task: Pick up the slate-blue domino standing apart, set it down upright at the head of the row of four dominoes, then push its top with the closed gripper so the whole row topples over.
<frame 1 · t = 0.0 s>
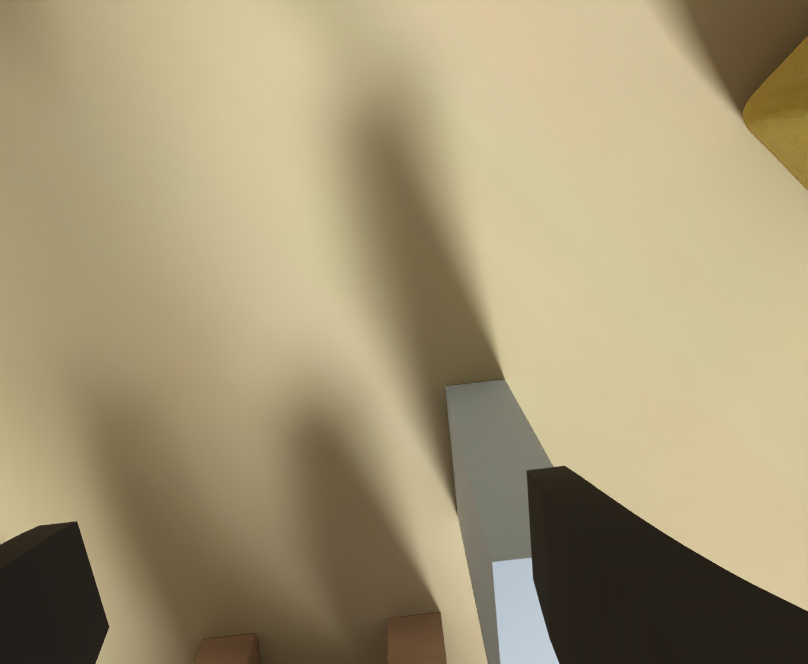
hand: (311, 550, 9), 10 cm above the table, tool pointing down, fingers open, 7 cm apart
blue domino: (480, 450, 20), on the table
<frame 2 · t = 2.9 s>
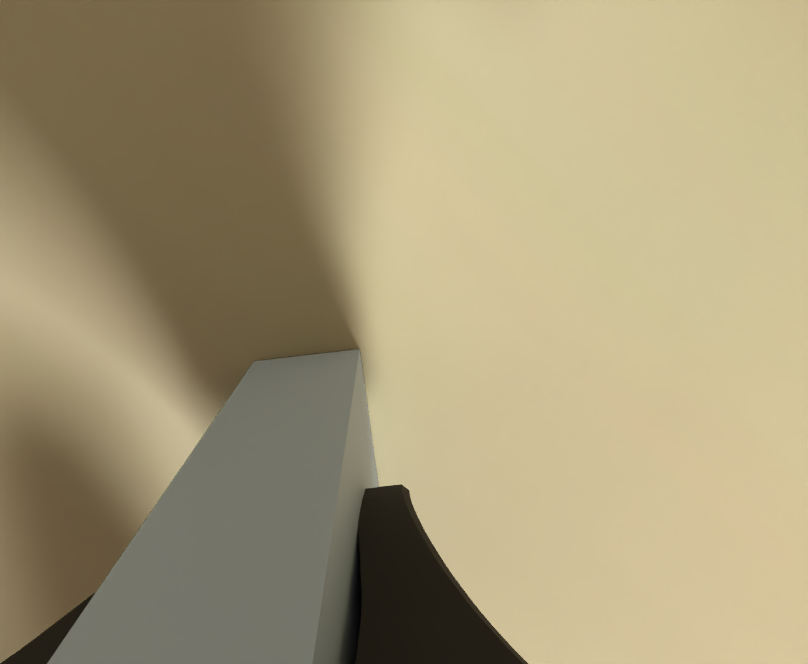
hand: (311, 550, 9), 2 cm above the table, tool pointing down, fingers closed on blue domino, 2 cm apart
blue domino: (326, 473, 12), on the table, touching gripper
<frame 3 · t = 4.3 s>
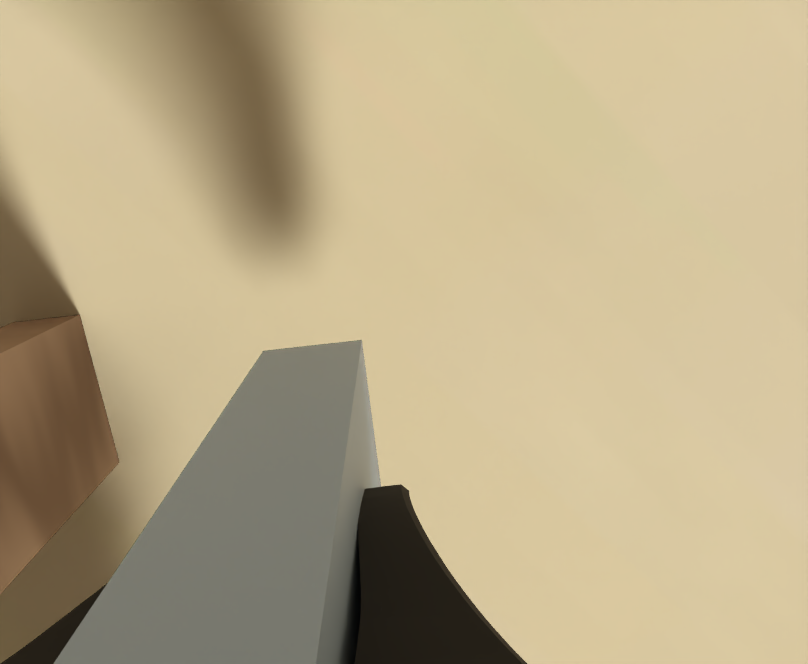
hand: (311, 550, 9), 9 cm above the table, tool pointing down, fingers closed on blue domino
blue domino: (329, 456, 12), point 6 cm above the table, touching gripper
domino 2: (68, 394, 18), on the table
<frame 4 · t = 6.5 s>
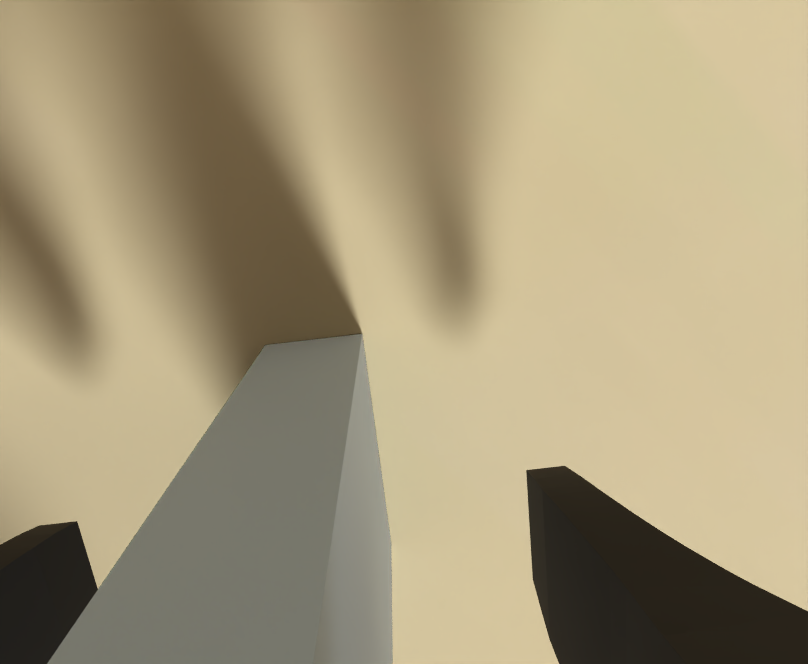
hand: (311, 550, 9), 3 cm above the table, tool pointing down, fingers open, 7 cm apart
blue domino: (331, 449, 13), on the table
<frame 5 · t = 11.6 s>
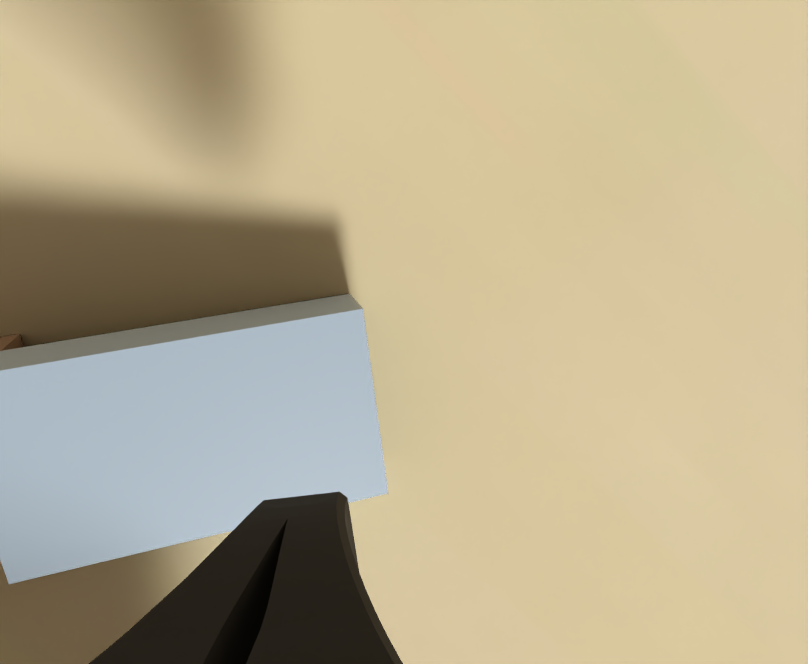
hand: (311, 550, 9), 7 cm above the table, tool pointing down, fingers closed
blue domino: (368, 391, 16), point 1 cm above the table, tilted 77°, touching domino 2
domino 2: (36, 431, 16), point 1 cm above the table, tilted 71°, touching blue domino, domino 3
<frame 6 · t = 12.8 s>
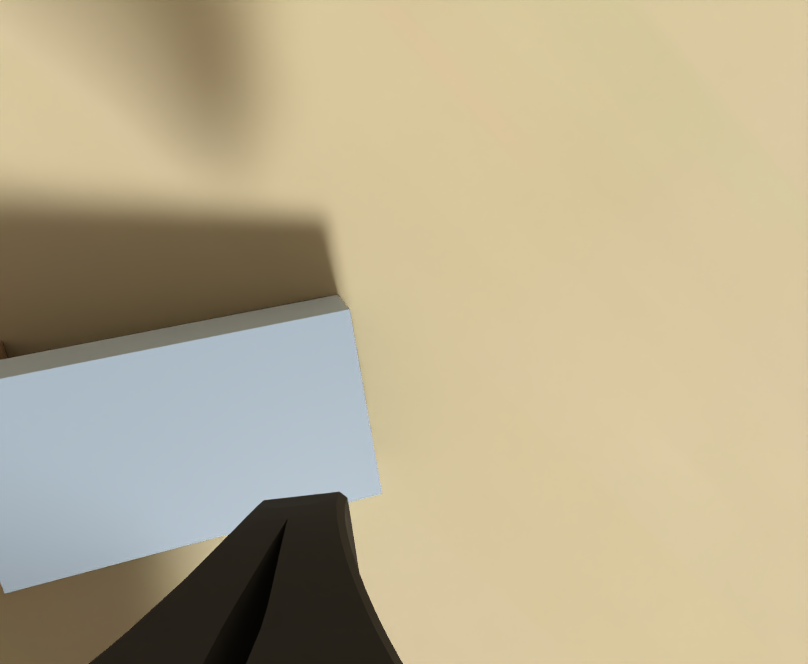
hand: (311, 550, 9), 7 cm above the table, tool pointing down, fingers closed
blue domino: (359, 392, 16), point 1 cm above the table, tilted 77°, touching domino 2
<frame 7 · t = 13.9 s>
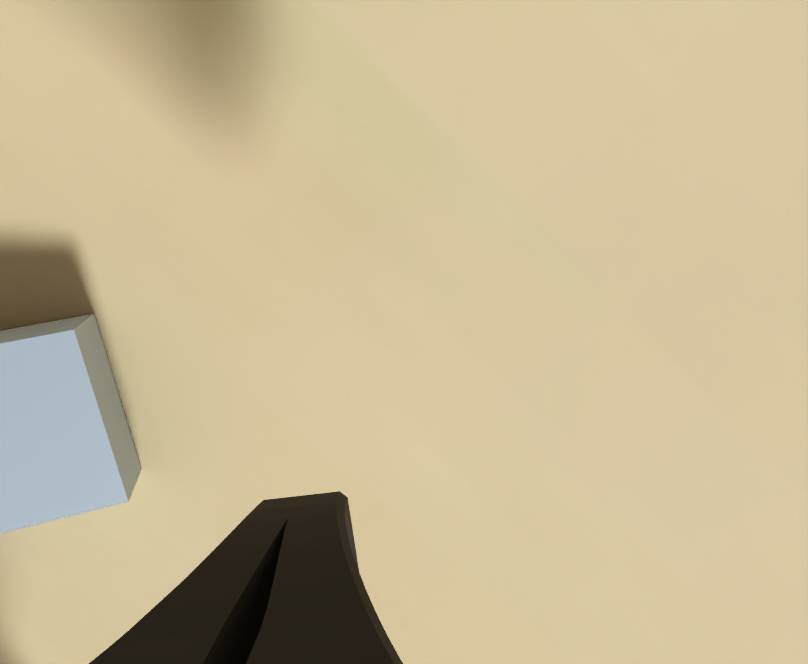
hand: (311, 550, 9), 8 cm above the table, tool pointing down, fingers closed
blue domino: (111, 406, 16), point 1 cm above the table, tilted 77°, touching domino 2
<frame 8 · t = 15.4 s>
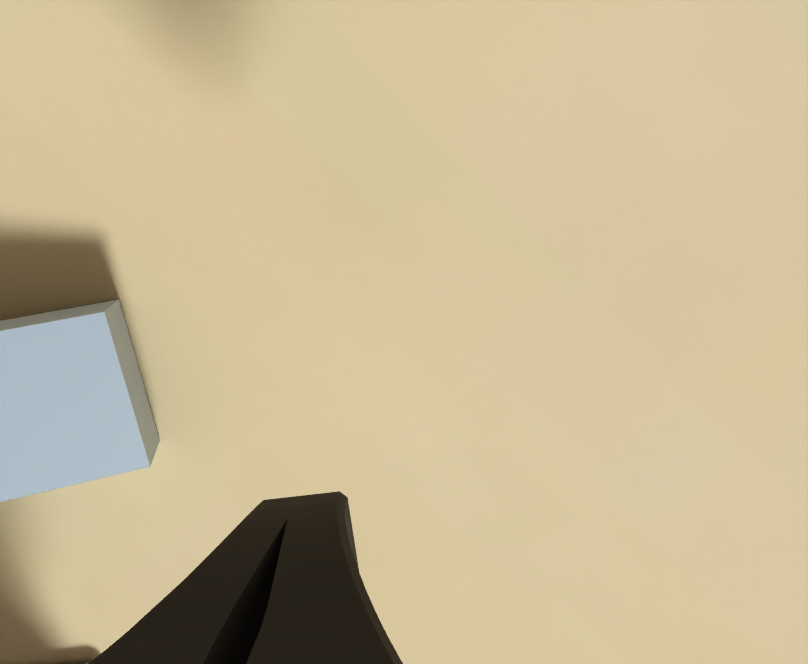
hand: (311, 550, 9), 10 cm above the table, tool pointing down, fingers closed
blue domino: (134, 381, 18), point 1 cm above the table, tilted 77°, touching domino 2
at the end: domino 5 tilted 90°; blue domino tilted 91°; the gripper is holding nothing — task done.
